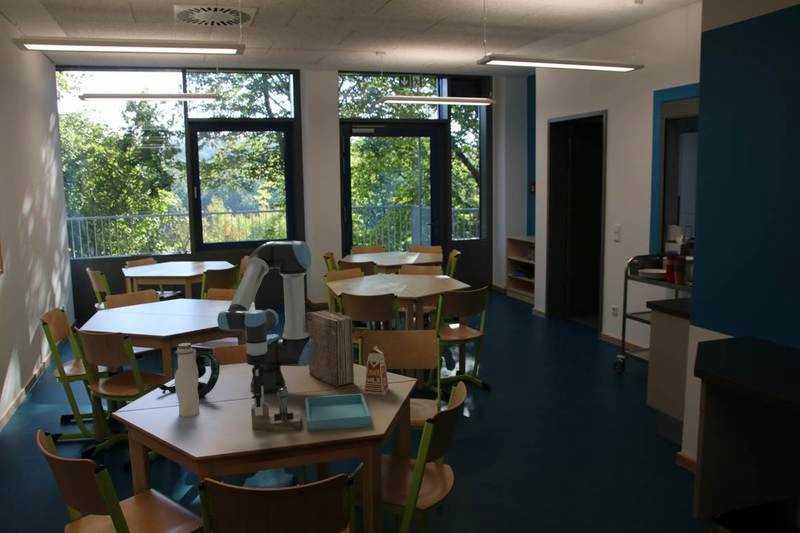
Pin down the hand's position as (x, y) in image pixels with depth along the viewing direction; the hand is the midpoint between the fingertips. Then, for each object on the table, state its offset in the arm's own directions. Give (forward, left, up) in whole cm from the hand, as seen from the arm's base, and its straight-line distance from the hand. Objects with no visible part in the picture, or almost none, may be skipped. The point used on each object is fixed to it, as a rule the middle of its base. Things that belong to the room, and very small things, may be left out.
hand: (259, 408), depth 245 cm
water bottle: (-21, -28, -7) cm, 36 cm away
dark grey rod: (0, +9, -7) cm, 11 cm away
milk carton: (-31, +48, -7) cm, 57 cm away
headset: (-42, -30, -7) cm, 52 cm away
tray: (-4, +29, -7) cm, 30 cm away
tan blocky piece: (0, +6, -7) cm, 9 cm away
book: (-52, +30, -7) cm, 61 cm away
